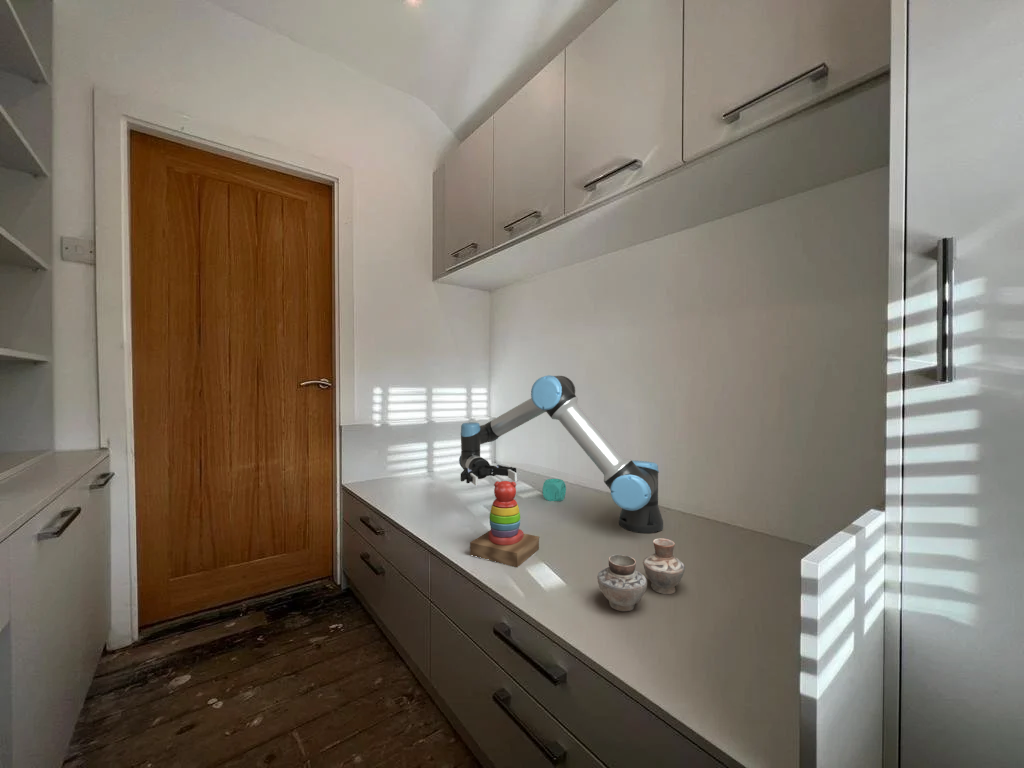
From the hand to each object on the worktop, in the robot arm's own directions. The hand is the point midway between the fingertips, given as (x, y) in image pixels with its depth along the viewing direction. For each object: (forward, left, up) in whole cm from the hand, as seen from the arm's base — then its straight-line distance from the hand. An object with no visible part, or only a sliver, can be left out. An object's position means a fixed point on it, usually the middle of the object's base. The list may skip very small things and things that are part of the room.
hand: (496, 479), depth 139 cm
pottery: (-50, +14, -20) cm, 55 cm away
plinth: (-8, +8, -20) cm, 23 cm away
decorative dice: (+1, -50, -20) cm, 54 cm away
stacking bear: (-8, +8, -16) cm, 19 cm away
